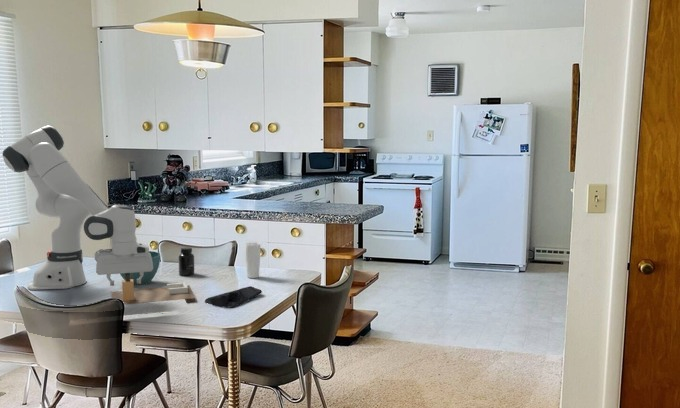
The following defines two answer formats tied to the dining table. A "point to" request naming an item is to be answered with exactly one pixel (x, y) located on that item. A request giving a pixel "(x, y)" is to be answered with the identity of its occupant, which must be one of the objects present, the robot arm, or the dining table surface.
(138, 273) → the teal bowl
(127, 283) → the tan block with tip
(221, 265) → the dining table surface
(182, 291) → the plug holder
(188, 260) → the supplement bottle
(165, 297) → the board
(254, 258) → the drinking glass
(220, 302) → the dark slate chunk
